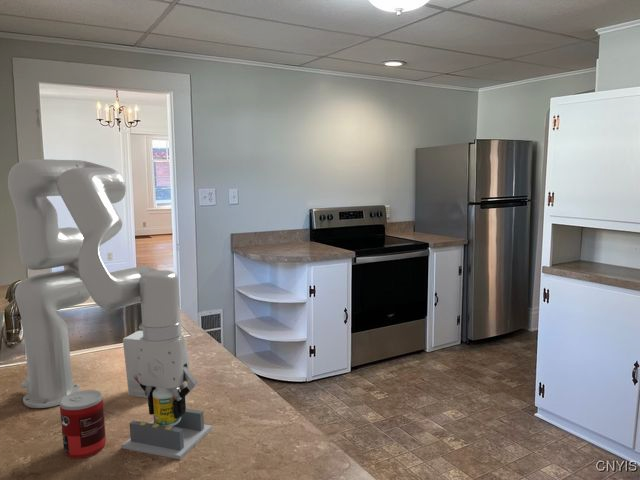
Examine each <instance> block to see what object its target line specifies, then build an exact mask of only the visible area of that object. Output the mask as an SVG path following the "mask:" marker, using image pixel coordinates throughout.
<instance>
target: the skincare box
mask: <svg viewBox="0 0 640 480" xmlns="http://www.w3.org/2000/svg"><path fill="white" fill-rule="evenodd" d="M141 337H143V330H137V331H135V332H133V333H131V334H129V335H128V336H125V337H124V338H122V345H123V353H124V363H125V371H126V380H127V382H126V383H127V392H128V396H129V397H134V398H135V397H136V398H142V399H148V396H146V395H145V391H144V390H143V389H142V388H141V386H140V384H139V383H138V382H137V381H136V380H135V379H134V375H135V374H136V373H137V359H138V347H139V342H140V338H141Z"/></svg>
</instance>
